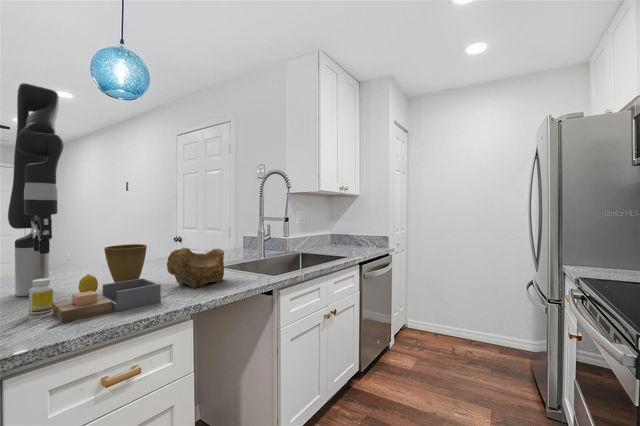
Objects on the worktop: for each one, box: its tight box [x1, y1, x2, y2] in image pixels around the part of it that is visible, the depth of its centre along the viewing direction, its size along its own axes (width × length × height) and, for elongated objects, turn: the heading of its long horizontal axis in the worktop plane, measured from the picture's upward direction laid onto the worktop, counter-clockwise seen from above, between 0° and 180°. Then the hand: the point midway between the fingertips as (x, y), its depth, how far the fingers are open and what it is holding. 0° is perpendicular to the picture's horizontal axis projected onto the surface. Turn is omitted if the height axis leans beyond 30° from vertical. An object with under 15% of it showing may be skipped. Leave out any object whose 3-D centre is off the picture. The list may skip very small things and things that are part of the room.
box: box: [100, 278, 162, 313], centre depth 104 cm, size 14×14×6 cm
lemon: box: [78, 273, 99, 293], centre depth 111 cm, size 6×6×8 cm
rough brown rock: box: [166, 247, 225, 289], centre depth 129 cm, size 23×17×15 cm
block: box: [71, 291, 98, 306], centre depth 94 cm, size 5×5×2 cm
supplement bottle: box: [28, 278, 54, 315], centre depth 94 cm, size 5×5×10 cm
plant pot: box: [103, 243, 148, 283], centre depth 128 cm, size 15×15×16 cm
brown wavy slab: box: [52, 294, 113, 323], centre depth 94 cm, size 12×12×3 cm
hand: (41, 252), depth 94 cm, fingers open, 8 cm apart
